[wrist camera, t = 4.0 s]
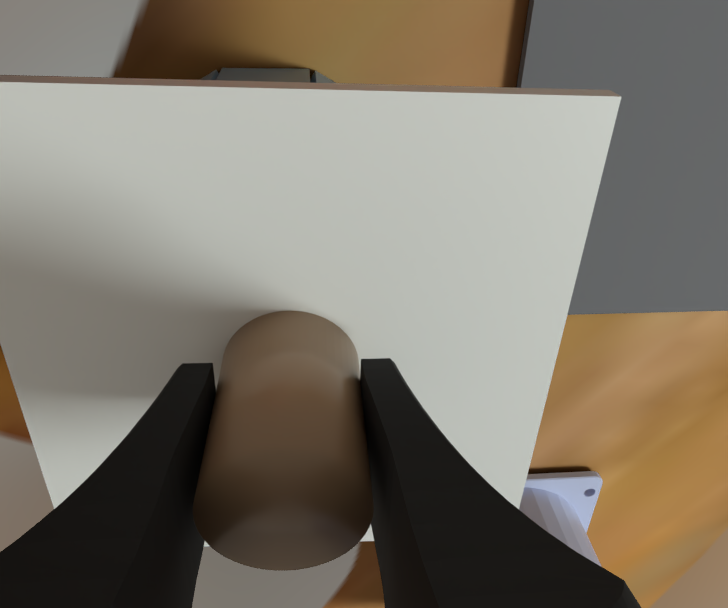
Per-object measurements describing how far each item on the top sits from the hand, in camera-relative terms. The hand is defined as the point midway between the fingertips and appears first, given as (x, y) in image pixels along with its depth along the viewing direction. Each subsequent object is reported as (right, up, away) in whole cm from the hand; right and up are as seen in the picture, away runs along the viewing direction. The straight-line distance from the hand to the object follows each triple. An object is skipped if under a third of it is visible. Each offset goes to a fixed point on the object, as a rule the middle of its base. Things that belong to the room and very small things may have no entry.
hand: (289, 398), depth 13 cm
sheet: (0, +1, +1) cm, 1 cm away
